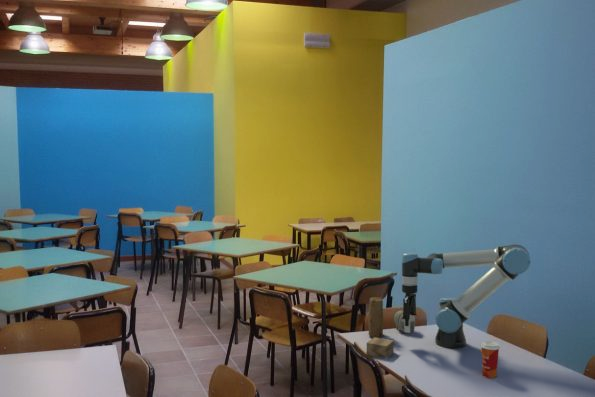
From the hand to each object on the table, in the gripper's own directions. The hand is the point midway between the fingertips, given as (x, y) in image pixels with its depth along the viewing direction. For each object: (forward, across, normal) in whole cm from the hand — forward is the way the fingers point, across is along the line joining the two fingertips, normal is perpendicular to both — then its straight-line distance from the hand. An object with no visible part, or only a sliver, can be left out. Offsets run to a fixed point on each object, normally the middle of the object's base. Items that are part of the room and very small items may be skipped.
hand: (409, 330), depth 280 cm
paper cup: (+9, +20, +41) cm, 47 cm away
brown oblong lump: (+8, -10, -22) cm, 25 cm away
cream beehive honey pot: (+9, -25, -11) cm, 28 cm away
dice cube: (+1, 0, -1) cm, 1 cm away
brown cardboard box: (+9, +16, -10) cm, 21 cm away
